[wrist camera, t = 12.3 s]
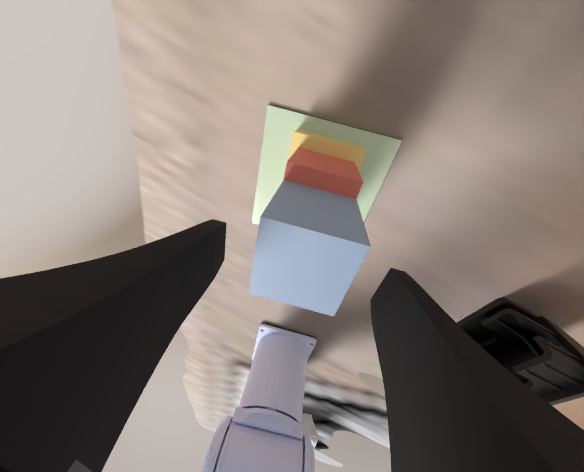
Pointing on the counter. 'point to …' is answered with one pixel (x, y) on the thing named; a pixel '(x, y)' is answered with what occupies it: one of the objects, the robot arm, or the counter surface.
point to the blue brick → (308, 248)
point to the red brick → (324, 173)
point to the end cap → (530, 349)
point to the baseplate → (286, 122)
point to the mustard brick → (327, 146)
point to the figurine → (309, 428)
